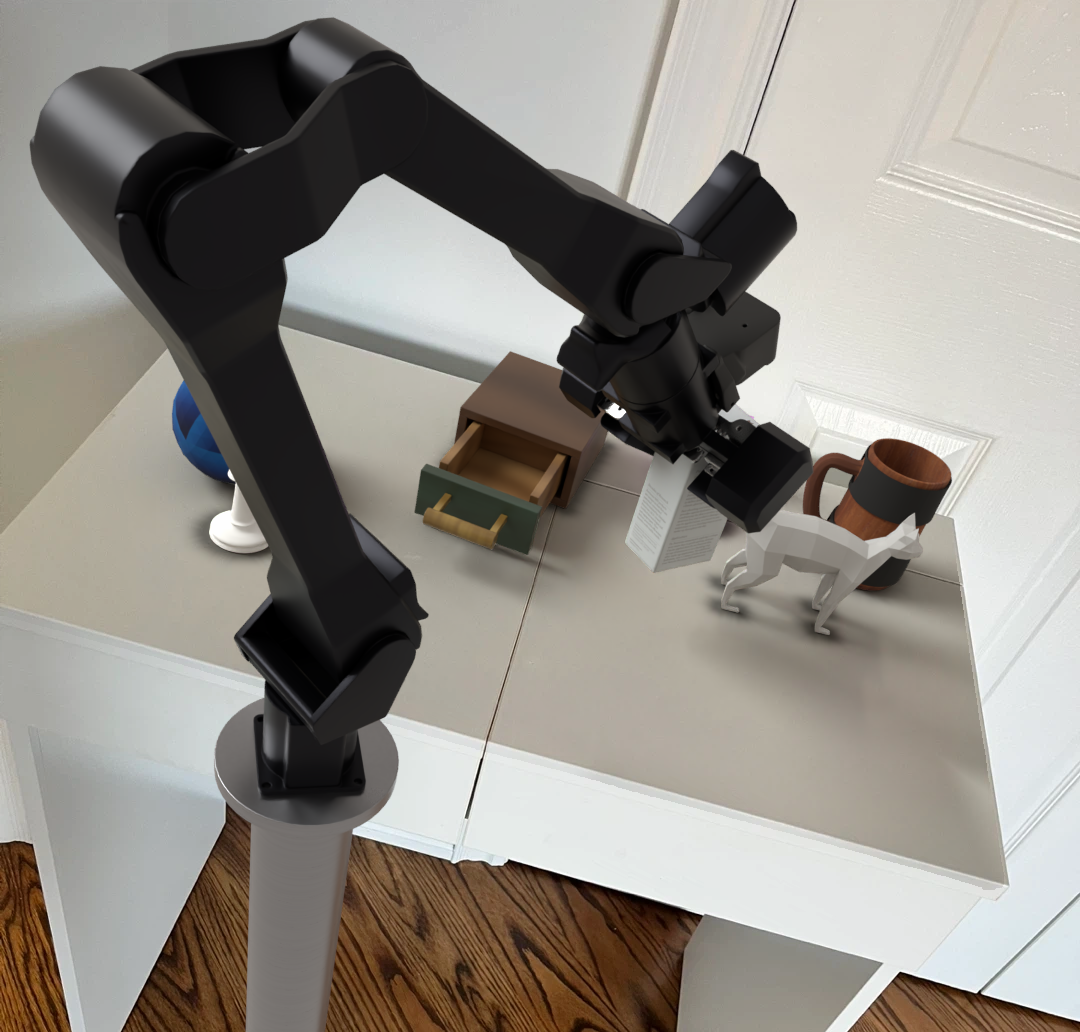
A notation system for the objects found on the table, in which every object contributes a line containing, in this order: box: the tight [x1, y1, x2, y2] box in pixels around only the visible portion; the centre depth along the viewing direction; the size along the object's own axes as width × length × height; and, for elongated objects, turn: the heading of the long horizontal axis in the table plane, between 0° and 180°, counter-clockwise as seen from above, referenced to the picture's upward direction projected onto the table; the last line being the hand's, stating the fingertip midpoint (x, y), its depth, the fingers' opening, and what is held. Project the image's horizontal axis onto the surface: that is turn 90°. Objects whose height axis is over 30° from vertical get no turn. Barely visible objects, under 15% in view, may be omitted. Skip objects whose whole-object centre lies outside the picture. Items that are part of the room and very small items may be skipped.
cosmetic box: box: [624, 403, 761, 574], centre depth 76 cm, size 6×4×12 cm
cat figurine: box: [720, 509, 924, 636], centre depth 84 cm, size 4×20×14 cm, turn 83°
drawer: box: [414, 420, 570, 556], centre depth 87 cm, size 17×10×4 cm, turn 162°
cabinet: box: [453, 350, 609, 510], centre depth 96 cm, size 14×12×6 cm
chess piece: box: [209, 469, 269, 554], centre depth 77 cm, size 5×5×10 cm
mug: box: [802, 437, 953, 592], centre depth 93 cm, size 9×12×12 cm
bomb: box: [171, 379, 236, 485], centre depth 81 cm, size 10×11×15 cm
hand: (705, 477), depth 76 cm, fingers closed on cosmetic box, 4 cm apart
